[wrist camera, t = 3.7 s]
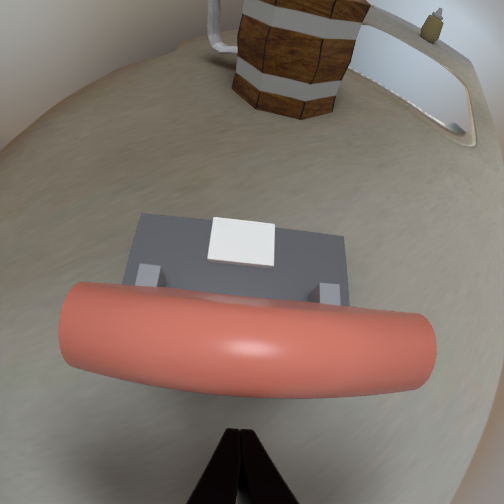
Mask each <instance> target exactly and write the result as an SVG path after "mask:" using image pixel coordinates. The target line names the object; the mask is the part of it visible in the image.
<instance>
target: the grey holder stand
mask: <svg viewBox="0 0 504 504" xmlns="http://www.w3.org/2000/svg"><path fill="white" fill-rule="evenodd" d="M122 285H135V286H152V287H168V288H176V289H184V290H192V291H201V292H209V293H218V294H228V295H237V296H247V297H258V298H269V299H280V300H292V301H305V302H315V303H323V304H331V305H339V306H348V307H349V292H348V278H347V266H346V255H345V245H344V236H337V235H329V234H322V233H314V232H307V231H299V230H291V229H283V228H275V224H270V223H262V222H253V221H245V220H236V219H227V218H218V217H214V218H213V220H205V219H195V218H185V217H175V216H165V215H154V214H143V213H141V216H140V220H139V223H138V226H137V230H136V233H135V237H134V240H133V244H132V248H131V251H130V255H129V259H128V263H127V267H126V271H125V275H124V279H123V284H122Z"/></svg>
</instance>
